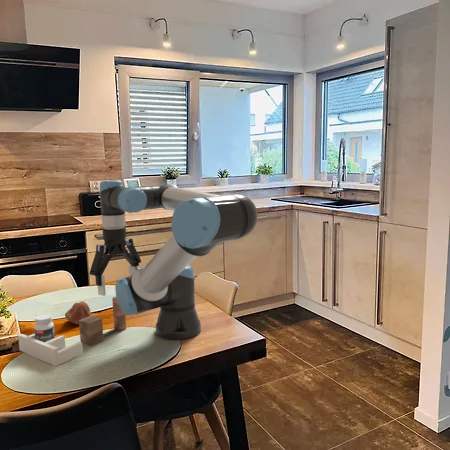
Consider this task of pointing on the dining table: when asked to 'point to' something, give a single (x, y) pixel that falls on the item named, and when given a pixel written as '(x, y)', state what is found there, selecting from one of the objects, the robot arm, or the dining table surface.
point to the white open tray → (49, 349)
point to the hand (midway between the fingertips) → (118, 289)
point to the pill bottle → (44, 328)
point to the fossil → (78, 312)
